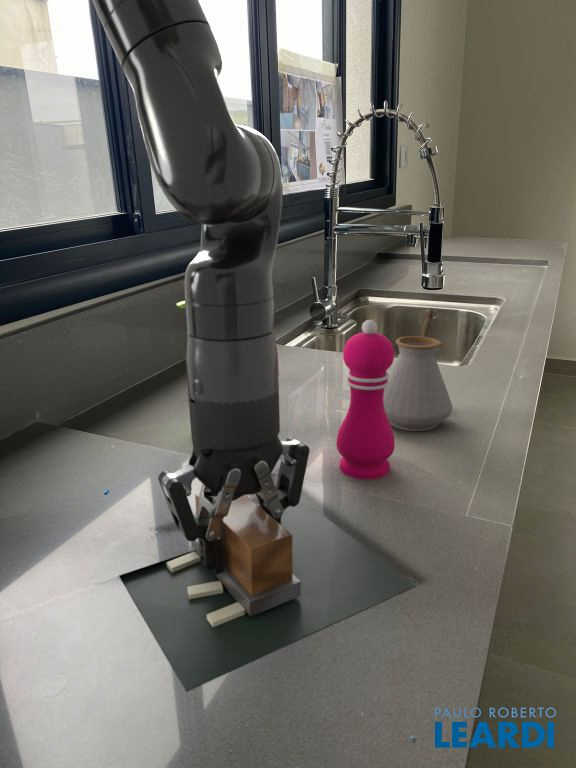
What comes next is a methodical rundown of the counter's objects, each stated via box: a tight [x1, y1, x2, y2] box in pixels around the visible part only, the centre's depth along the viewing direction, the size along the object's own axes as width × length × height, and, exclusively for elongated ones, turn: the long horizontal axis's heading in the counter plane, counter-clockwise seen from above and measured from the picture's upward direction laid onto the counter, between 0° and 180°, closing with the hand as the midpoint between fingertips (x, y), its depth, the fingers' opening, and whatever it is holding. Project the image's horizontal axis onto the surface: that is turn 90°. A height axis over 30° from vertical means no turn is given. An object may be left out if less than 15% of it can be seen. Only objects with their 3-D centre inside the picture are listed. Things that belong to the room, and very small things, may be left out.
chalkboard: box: [118, 497, 416, 692], centre depth 57 cm, size 22×20×1 cm
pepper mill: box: [335, 319, 396, 481], centre depth 73 cm, size 7×7×20 cm
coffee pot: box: [383, 307, 453, 432], centre depth 95 cm, size 21×12×15 cm, turn 160°
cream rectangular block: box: [167, 550, 201, 572], centre depth 57 cm, size 3×1×1 cm, turn 127°
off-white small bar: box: [207, 602, 245, 627], centre depth 50 cm, size 3×1×1 cm, turn 122°
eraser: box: [190, 492, 301, 617], centre depth 55 cm, size 5×12×6 cm, turn 32°
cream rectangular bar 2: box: [187, 581, 223, 599], centre depth 53 cm, size 3×1×1 cm, turn 106°
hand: (241, 558), depth 55 cm, fingers closed on eraser, 5 cm apart
